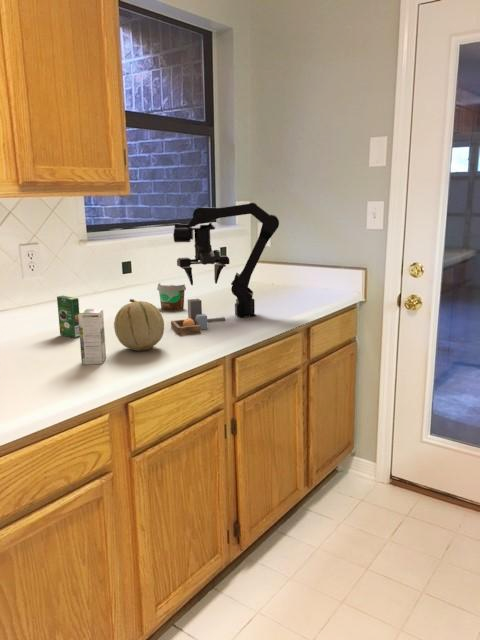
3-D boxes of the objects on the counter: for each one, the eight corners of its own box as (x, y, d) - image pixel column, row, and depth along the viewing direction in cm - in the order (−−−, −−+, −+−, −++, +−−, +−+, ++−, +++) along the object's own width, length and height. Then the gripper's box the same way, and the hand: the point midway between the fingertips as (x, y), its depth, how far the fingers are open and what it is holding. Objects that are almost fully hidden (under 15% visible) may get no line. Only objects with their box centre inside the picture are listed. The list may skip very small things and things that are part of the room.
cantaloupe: (150, 358, 149) (147, 306, 146) (105, 354, 154) (101, 303, 151) (174, 344, 163) (172, 296, 159) (132, 341, 168) (129, 294, 164)
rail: (224, 319, 194) (224, 317, 194) (225, 320, 193) (225, 317, 193) (183, 323, 189) (183, 321, 189) (184, 324, 188) (184, 321, 188)
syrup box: (85, 359, 150) (81, 308, 147) (107, 358, 151) (103, 307, 147) (81, 365, 145) (76, 313, 141) (103, 364, 145) (99, 312, 142)
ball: (185, 315, 181) (179, 325, 181) (188, 317, 177) (182, 328, 177) (195, 320, 182) (189, 330, 182) (198, 322, 179) (192, 333, 179)
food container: (152, 310, 213) (150, 285, 211) (160, 307, 219) (158, 282, 216) (179, 312, 209) (178, 286, 206) (186, 309, 214) (185, 284, 212)
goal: (192, 325, 186) (192, 318, 186) (200, 333, 176) (200, 325, 175) (171, 327, 184) (170, 320, 183) (178, 335, 174) (178, 327, 173)
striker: (199, 320, 192) (198, 298, 191) (208, 328, 181) (208, 305, 179) (188, 321, 191) (187, 299, 189) (197, 329, 180) (196, 306, 178)
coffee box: (82, 336, 174) (79, 297, 171) (75, 338, 172) (71, 298, 169) (67, 333, 179) (63, 295, 176) (59, 335, 177) (55, 296, 174)
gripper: (182, 245, 185) (184, 289, 188) (233, 242, 190) (234, 285, 194) (175, 242, 195) (177, 284, 198) (224, 240, 201) (225, 281, 204)
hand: (204, 284), depth 198 cm, fingers open, 9 cm apart
